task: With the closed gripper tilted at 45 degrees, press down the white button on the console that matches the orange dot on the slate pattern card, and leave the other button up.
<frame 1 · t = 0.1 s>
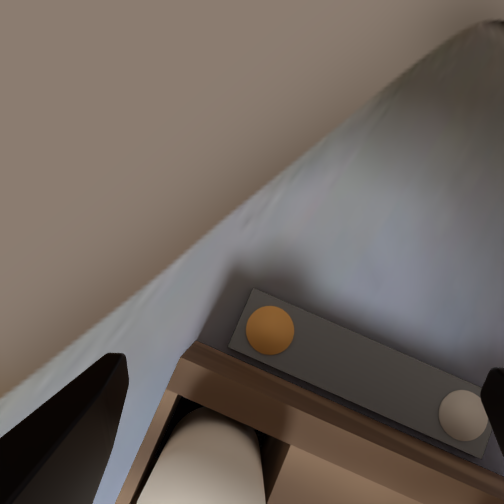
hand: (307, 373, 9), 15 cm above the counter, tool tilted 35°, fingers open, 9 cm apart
pattern card: (363, 370, 24), on the counter
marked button: (207, 484, 17), point 6 cm above the counter, slide at 0.0 cm
button console: (321, 477, 23), on the counter
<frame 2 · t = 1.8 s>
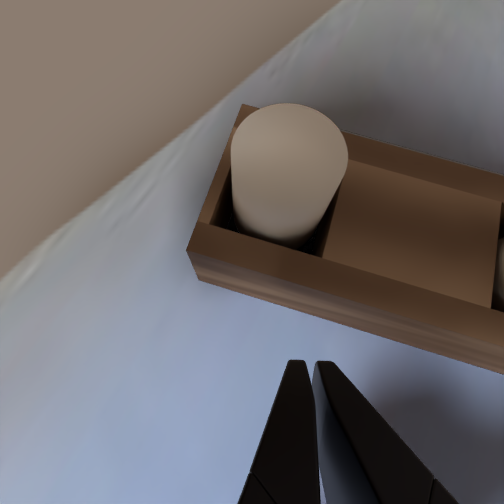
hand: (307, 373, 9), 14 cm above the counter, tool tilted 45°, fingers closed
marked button: (281, 186, 19), point 6 cm above the counter, slide at 0.0 cm
button console: (374, 263, 25), on the counter
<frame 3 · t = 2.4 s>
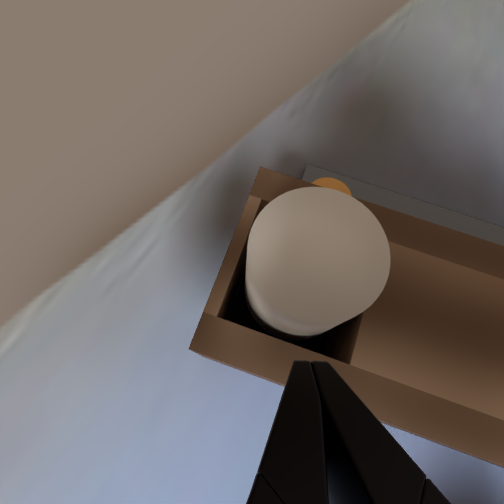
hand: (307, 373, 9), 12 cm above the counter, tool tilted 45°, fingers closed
pattern card: (425, 235, 24), on the counter
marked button: (304, 273, 16), point 6 cm above the counter, slide at 0.0 cm
button console: (401, 342, 22), on the counter
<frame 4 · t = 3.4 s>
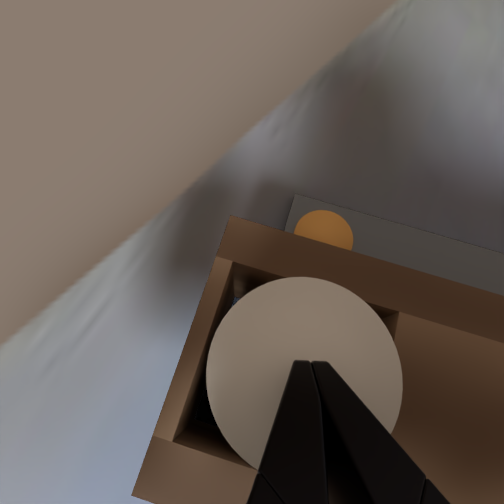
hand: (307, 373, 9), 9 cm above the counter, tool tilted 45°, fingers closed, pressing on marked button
pattern card: (444, 277, 19), on the counter
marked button: (289, 373, 12), point 5 cm above the counter, slide at 1.2 cm, touching gripper
button console: (423, 421, 17), on the counter
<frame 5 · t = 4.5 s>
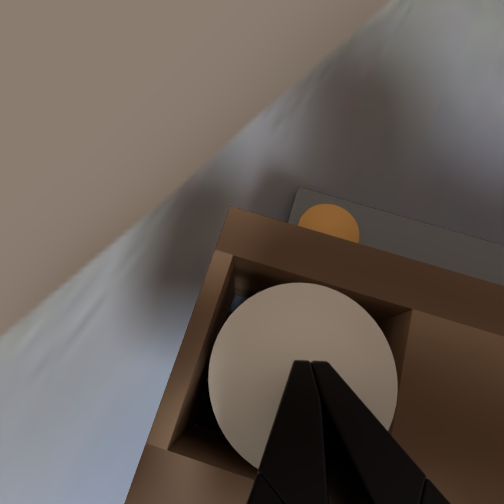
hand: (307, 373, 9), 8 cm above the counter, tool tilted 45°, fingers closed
pattern card: (454, 274, 18), on the counter
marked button: (288, 375, 13), point 4 cm above the counter, slide at 2.5 cm
button console: (434, 425, 16), on the counter
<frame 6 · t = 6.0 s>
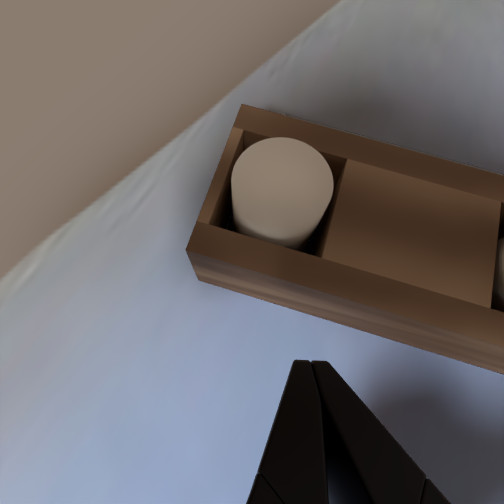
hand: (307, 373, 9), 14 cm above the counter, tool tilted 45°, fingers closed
pattern card: (392, 173, 27), on the counter
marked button: (276, 207, 21), point 4 cm above the counter, slide at 2.5 cm
button console: (373, 263, 25), on the counter
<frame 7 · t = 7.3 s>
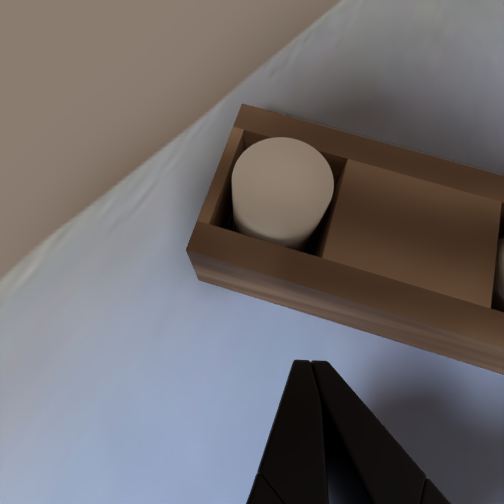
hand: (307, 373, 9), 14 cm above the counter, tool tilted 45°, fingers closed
pattern card: (393, 173, 27), on the counter
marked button: (276, 207, 21), point 4 cm above the counter, slide at 2.5 cm
button console: (374, 263, 25), on the counter
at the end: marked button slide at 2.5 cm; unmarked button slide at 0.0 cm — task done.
